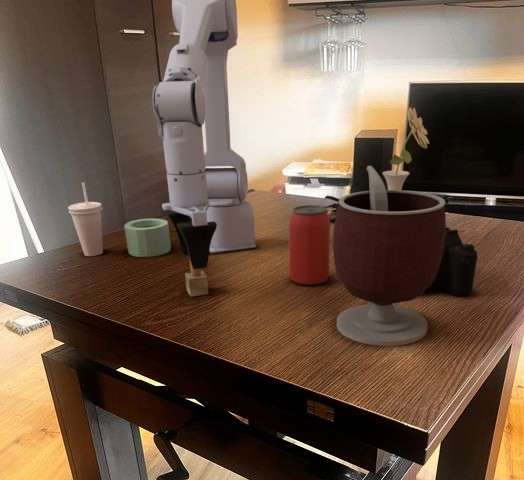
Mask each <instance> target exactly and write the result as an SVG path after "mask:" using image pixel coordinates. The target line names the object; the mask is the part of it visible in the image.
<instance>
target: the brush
mask: <svg viewBox="0 0 524 480" xmlns="http://www.w3.org/2000/svg"><path fill="white" fill-rule="evenodd" d="M188 259H189V269H190V272H186V273H184V275H185V287H186V292H187V294H188V295H189V297H191V298H192V297H197V296H204V295H209V293H210V292H209V282H208V275H207V274H206V273H205V272H204V271H203V270H201V269H202V268H201V269H193V267H192V264H191V261H190V258H189V257H188Z"/></svg>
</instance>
